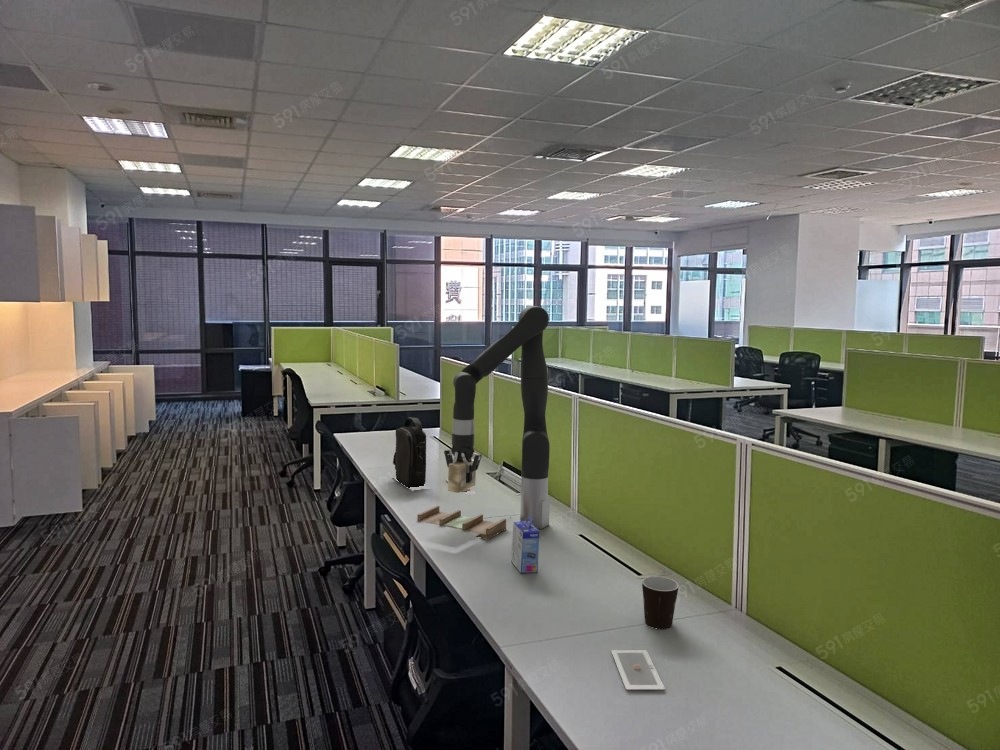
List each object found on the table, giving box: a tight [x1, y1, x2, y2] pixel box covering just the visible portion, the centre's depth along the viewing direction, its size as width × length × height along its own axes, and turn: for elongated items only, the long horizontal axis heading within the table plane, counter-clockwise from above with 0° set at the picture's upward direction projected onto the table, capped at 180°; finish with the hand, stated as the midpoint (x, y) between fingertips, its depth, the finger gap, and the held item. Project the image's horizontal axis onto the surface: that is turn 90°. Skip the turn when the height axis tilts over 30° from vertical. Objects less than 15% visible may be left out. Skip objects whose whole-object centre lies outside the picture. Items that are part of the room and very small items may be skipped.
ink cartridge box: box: [510, 516, 540, 574], centre depth 196 cm, size 10×6×14 cm, turn 15°
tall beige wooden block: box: [447, 458, 477, 494], centre depth 228 cm, size 4×11×9 cm, turn 151°
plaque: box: [445, 478, 476, 495], centre depth 277 cm, size 34×1×10 cm
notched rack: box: [416, 505, 507, 540], centre depth 230 cm, size 28×12×4 cm, turn 62°
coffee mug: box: [641, 575, 679, 630], centre depth 162 cm, size 12×9×10 cm
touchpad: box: [610, 649, 666, 690], centre depth 142 cm, size 8×15×2 cm, turn 2°
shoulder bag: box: [392, 416, 427, 488], centre depth 282 cm, size 23×9×28 cm, turn 30°
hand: (462, 481), depth 229 cm, fingers closed on tall beige wooden block, 4 cm apart
